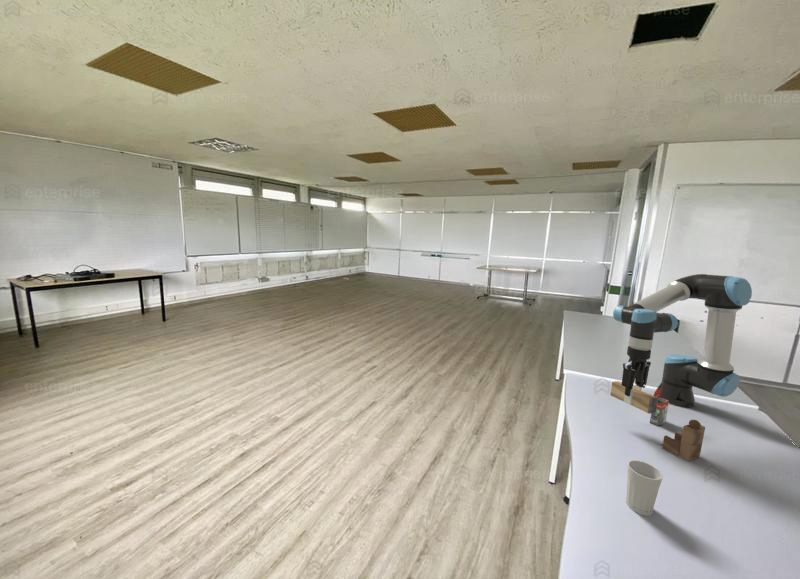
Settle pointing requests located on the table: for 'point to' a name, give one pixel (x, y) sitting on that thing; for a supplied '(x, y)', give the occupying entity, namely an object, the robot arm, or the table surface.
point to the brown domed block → (686, 441)
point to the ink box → (659, 410)
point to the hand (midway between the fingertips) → (631, 401)
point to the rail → (636, 397)
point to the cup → (642, 486)
